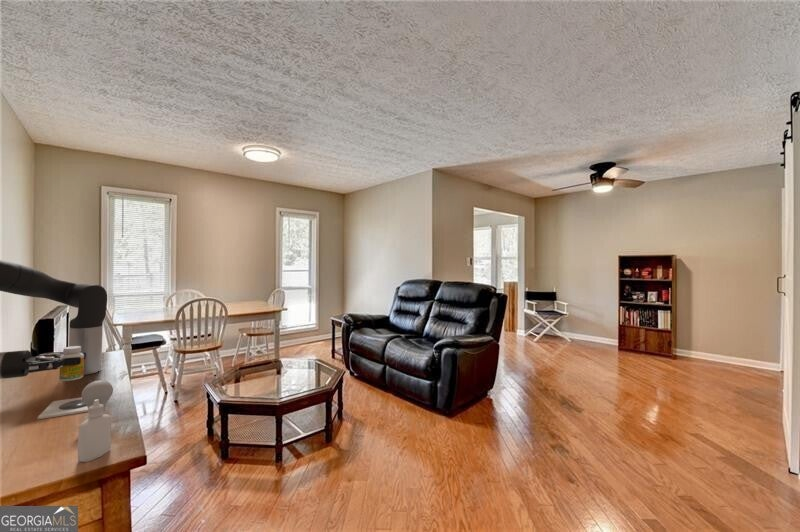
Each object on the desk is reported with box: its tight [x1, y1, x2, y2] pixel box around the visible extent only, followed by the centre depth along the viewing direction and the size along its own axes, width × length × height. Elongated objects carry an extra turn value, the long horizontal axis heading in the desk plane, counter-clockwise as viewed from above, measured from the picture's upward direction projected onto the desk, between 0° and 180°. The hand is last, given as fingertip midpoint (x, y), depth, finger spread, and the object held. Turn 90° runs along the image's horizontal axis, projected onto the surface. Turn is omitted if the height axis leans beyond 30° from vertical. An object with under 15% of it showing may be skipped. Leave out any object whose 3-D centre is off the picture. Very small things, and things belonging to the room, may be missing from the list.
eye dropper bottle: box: [77, 399, 112, 463], centre depth 73 cm, size 4×6×12 cm
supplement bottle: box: [58, 346, 84, 382], centre depth 105 cm, size 5×5×10 cm
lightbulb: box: [81, 379, 114, 414], centre depth 88 cm, size 6×6×11 cm
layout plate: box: [37, 396, 89, 420], centre depth 98 cm, size 12×13×1 cm
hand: (83, 358), depth 106 cm, fingers closed on supplement bottle, 5 cm apart
